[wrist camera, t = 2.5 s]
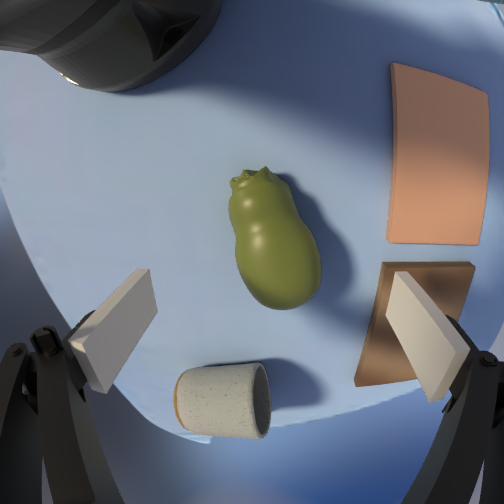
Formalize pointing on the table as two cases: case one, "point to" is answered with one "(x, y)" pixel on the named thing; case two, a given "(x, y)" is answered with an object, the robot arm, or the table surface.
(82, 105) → the table surface
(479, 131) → the terracotta tile
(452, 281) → the walnut board
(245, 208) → the green oblong lump
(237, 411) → the ceramic mug
